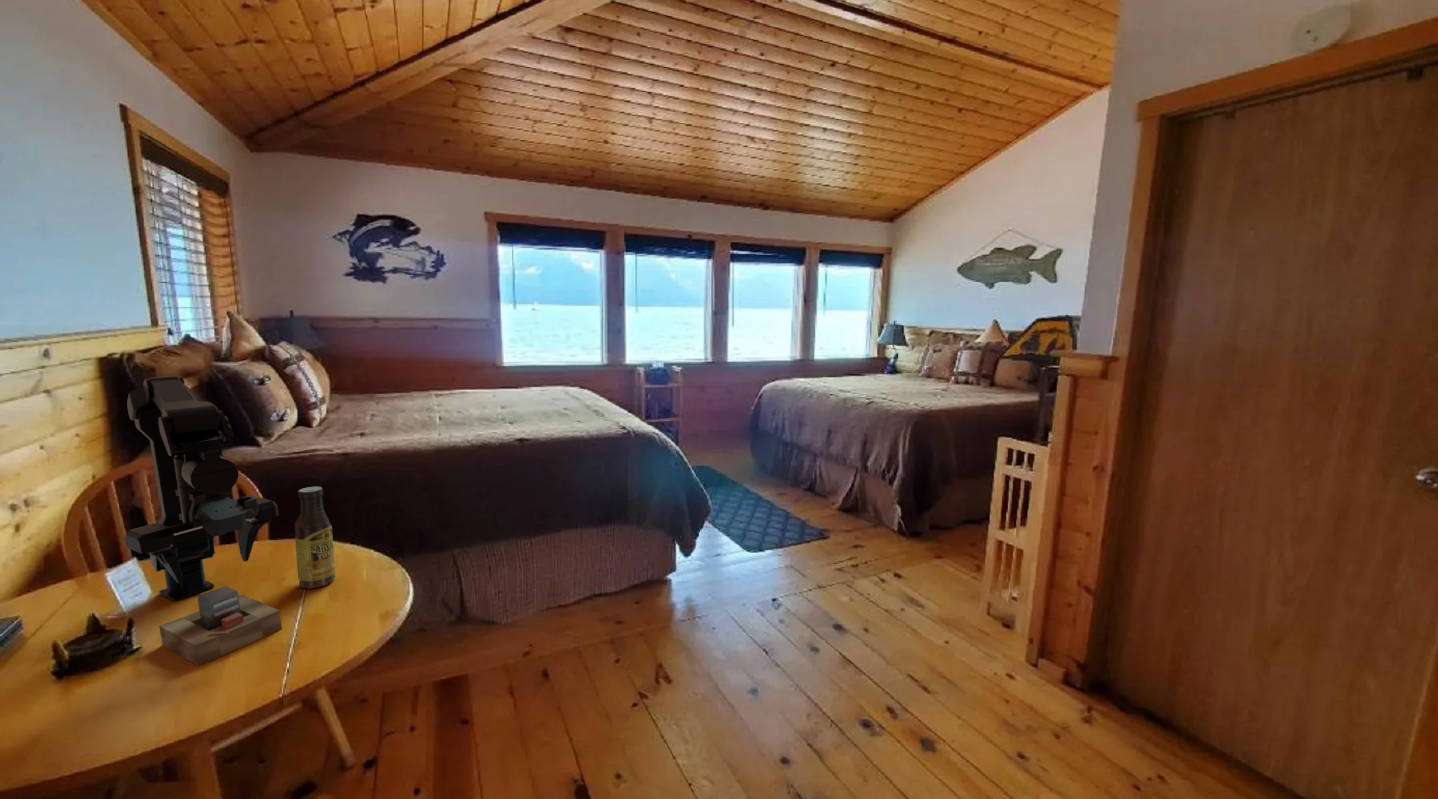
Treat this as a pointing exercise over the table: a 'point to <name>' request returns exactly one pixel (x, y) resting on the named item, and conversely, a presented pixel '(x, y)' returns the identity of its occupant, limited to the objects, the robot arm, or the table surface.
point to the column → (217, 606)
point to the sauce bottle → (313, 541)
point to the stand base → (220, 631)
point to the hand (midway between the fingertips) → (213, 571)
